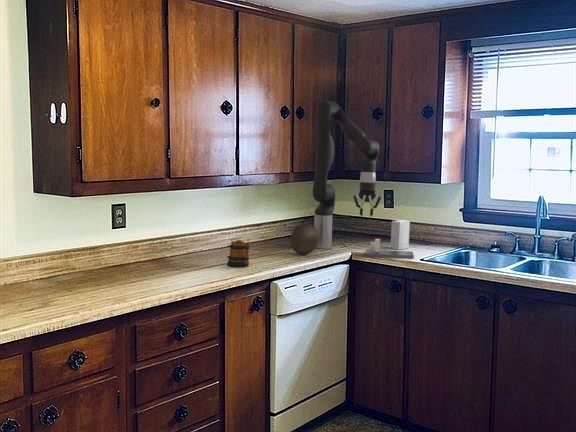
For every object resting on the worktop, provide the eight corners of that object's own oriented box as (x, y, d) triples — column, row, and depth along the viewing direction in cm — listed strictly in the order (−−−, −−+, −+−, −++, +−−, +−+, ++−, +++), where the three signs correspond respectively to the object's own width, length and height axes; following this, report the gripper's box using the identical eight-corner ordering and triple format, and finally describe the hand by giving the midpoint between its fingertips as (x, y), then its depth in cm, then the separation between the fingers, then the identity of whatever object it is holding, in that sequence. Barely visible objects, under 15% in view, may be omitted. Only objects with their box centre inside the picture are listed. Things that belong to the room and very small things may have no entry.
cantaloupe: (289, 256, 305) (290, 225, 303) (290, 251, 319) (291, 221, 317) (319, 257, 305) (320, 226, 303) (319, 252, 319) (320, 222, 317)
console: (365, 256, 311) (366, 245, 311) (365, 252, 323) (366, 241, 322) (413, 258, 308) (414, 247, 308) (412, 254, 320) (412, 243, 320)
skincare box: (400, 247, 342) (401, 219, 340) (409, 248, 337) (410, 220, 335) (389, 248, 336) (391, 220, 335) (398, 250, 332) (400, 221, 330)
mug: (221, 265, 282) (221, 239, 280) (239, 262, 289) (240, 237, 287) (240, 269, 272) (240, 243, 271) (258, 267, 279) (258, 240, 278)
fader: (374, 252, 314) (375, 239, 313) (374, 250, 317) (375, 238, 316) (379, 252, 314) (380, 239, 313) (379, 251, 317) (380, 238, 316)
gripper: (353, 181, 309) (351, 216, 311) (382, 182, 307) (381, 217, 309) (353, 180, 316) (352, 214, 318) (382, 181, 315) (380, 216, 317)
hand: (366, 216), depth 314 cm, fingers open, 3 cm apart
